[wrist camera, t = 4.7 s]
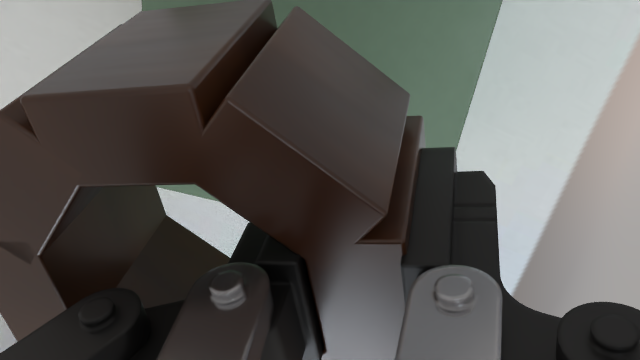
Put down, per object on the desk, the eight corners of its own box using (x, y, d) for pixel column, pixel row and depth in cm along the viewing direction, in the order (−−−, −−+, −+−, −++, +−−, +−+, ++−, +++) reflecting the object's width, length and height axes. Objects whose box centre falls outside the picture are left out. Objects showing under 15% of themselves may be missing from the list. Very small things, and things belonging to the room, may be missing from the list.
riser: (233, -152, 22) (135, -124, 16) (503, -104, 21) (519, -53, 15) (222, 91, 28) (147, 185, 22) (435, 137, 27) (425, 250, 21)
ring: (179, -89, 11) (52, -30, 8) (511, 171, 12) (525, 315, 9) (38, 183, 15) (-80, 294, 12) (294, 350, 17) (251, 490, 13)
